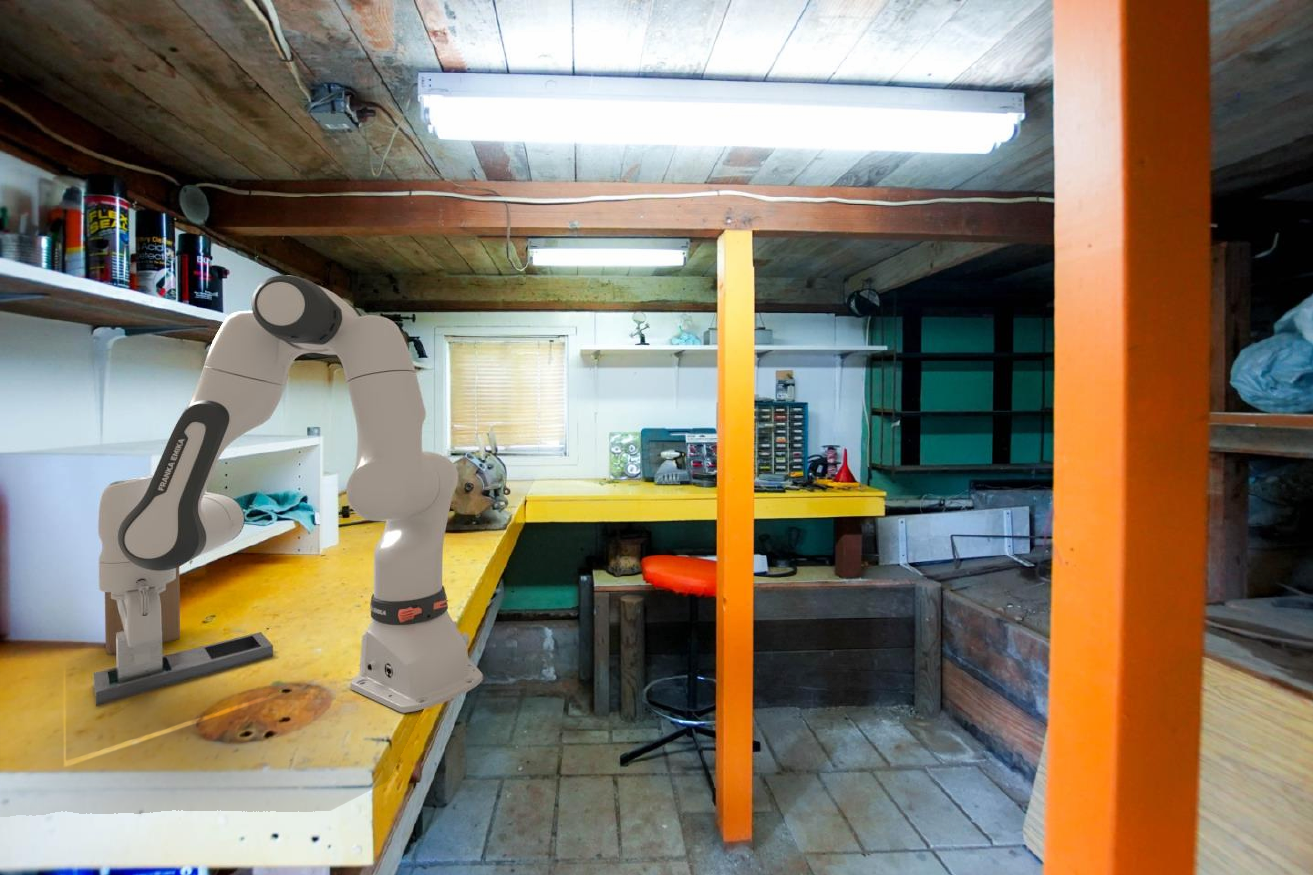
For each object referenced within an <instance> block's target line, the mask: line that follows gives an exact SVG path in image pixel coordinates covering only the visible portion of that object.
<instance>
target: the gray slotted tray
mask: <svg viewBox="0 0 1313 875" xmlns="http://www.w3.org/2000/svg"><path fill="white" fill-rule="evenodd" d="M273 656H274V645H273V644H272V643H271V641H269V639H268V638H267V637H266V636H265V635H264V634H263V633H262V632H261V631H259V632H255V633H250V634H246V635H243V636H238V637H235V638H234V637H233V638H230V639H227V640H223V641H219V642H213V643H210V644H206V645H202V646H199V647H195V648H190V649H187V650H183V651H182V650H181V651H179V652H178V651H177V652H173V653H170V654H166V655H162V672H163V673H159V674H155V675H151V676H148V677H144V678H140V679H136V680H132V681H129V682H125V683H121V684H118V679H117V668H116V667H112V668H109V669H104V670H101V671H97V672H93V689H94V697H95V706H100V705H104V704H108V703H111V702H114V701H118V700H122V699H125V698H129V697H133V696H135V695H139V694H144V693H147V692H150V691H154V690H157V689H160V688H164V687H167V686H168V687H169V686H172V685H175V684H178V683H179V684H180V683H182V682H186V681H189V680H193V679H196V678H197V679H198V678H201V677H204V676H208V675H210V674H215V673H218V672H221V671H222V672H223V671H225V670H230V669H232V668H235V667H239V666H243V665H246V664H247V665H248V664H251V663H253V662H257V661H261V660H265V659H268V658H272V657H273Z"/></svg>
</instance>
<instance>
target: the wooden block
mask: <svg viewBox="0 0 1313 875" xmlns="http://www.w3.org/2000/svg"><path fill="white" fill-rule="evenodd" d="M165 585H166V589H165V590H164V591H163V592H161V593H159V596H160V603H161V629H162V644H164V643H167V642H172V641H176V640H179V638H180V636H181V611H180V610H181V605H180V604H181V602H180V601H181V600H180V599H181V595H180V594H181V593H180V592H181V589H180V587H181V586H180V566H179V567H177V568H176V578H175V579H174V580H173V581H171V582H169V583H166V584H165ZM104 622H105V623H104V625H105V626H104V629H105V632H104V633H105V652H106V654H107V655H115V654H116V633H117V632H122V631H124V628H123V624H122V621H121V617H120V614H119V610H118V606H117V601H116V600H114V599H111V592H104Z"/></svg>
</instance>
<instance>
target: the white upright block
mask: <svg viewBox="0 0 1313 875" xmlns="http://www.w3.org/2000/svg"><path fill="white" fill-rule="evenodd" d="M115 656H116V658H115V660H116V661H115V662H116V667H115V668H117V679H118V684H121V683H125V682H129V681H132V680H136V679H140V678H144V677H148V676H151V675H155V674H159V673H163V672H162V656H163V643H162V633H161V639H160V641H158V642H155V643H151V648H150V660H149V661H148V662H146V663H143V664H138V665H135V664H134V661H133V648H131V647H129V646H128V643H127V639H126V635H125V632H124V631H122V632H117V633H116V655H115Z"/></svg>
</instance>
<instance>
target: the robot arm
mask: <svg viewBox="0 0 1313 875" xmlns="http://www.w3.org/2000/svg"><path fill="white" fill-rule="evenodd" d="M251 297H252V298H251V310H248V311H247V310H244V311H237V312H233V313H231V314H230V315H228V316H227V317H226V318H225V320H224V321H223V323H222V324H221V326H220V328H219V329H218V331H217V333H216V334H215V337H214V339H213V340H212V343H211V346H210V348H209V350H208V352H207V355H206V358H205V360H204V361H205V362H204V363H203V368H202V370H201V374H200V376H199V380H198V382H197V385H196V387H195V389H194V392H193V394H192V397H191V398H190V401H189V402H188V404H187V405H186V407H185V409H184V410H183V412H182V414H181V415H180V417H179V419H178V420H177V422H176V424H175V426H174V428H173V429H172V432H171V435H170V437H169V439H168V440H167V443H166V445H165V447H164V450H163V452H162V454H161V458H160V459H159V462H158V463H157V467H156V469H155V471H154V473H153V475H148V476H147V475H146V476H140V477H133V478H126V479H120V480H117V481H113V482H111V483H110V484H108V485H106V487H105V488H104V490H103V491H102V494H101V497H100V502H99V509H98V519H97V520H98V523H97V524H98V526H97V528H98V536H99V538H100V540H101V546H102V548H101V552H100V554H99V556H98V580H99V581H98V589H99V591H101V592H104V593H105V592H111V599H114V600H116V601H117V606H118V610H119V614H120V617H121V621H122V624H123V628H124V632H125V635H126V639H127V643H128V646H129V647H131V648H133V661H134V664H135V665H138V664H143V663H146V662H148V661H149V660H150V648H151V643H155V642H158V641H160V639H161V633H162V629H161V603H160V596H159V593H161V592H163V591H164V590H165V589H166V585H165V584H166V583H169V582H171V581H173V580H174V579H175V578H176V568H177V567H179V568H180V567H181V566H183V565H186V564H187V563H189V562H191V561H192V560H194V559H196V558H197V557H199V556H202V555H204V554H206V553H208V552H211V551H213V550H216V548H220V547H222V546H224V545H226V544H228V543H229V542H231V541H233V540H234V539H236V538H237V537H238V536H239V535H240V533H241V532H242V530H243V529H244V525H245V517H246V516H245V512H244V509H243V508H242V506H241V505H240V503H239V502H238V501H237V500H236V499H234V498H232V497H230V496H229V495H225V494H221V493H213V492H208V491H206V490H207V488H208V485H209V482H210V480H211V478H212V475H213V473H214V471H215V468H216V465H217V463H218V461H219V458H220V457H221V455H222V454H223V452H224V451H225V449H227V447H228V446H229V445H231V443H233V442H234V441H236V440H237V439H238V438H240V437H241V436H242V435H244V434H247V433H248V432H250V431H252V430H253V429H255V428H258V427H259V426H261V425H264V423H266V422H267V421H269V420H270V419H271V418H272V416H273V414H274V412H275V411H276V408H277V407H278V405H279V404H280V401H281V398H282V396H283V392H284V389H285V385H286V382H287V378H288V374H289V372H290V369H291V366H292V364H293V362H294V361H295V359H297V358H299V356H302V355H304V356H306V357H309V358H338V359H339V360H340V363H341V366H342V368H343V372H344V376H345V381H346V385H347V388H348V393H349V397H350V401H351V406H352V409H353V414H354V418H355V422H356V433H357V435H356V436H357V441H356V443H357V446H356V459H355V466H354V468H353V472H352V473H351V474H350V476H349V478H348V481H347V483H346V488H345V489H346V490H345V492H346V499H347V503H348V504H349V507H350V508H351V509H352V510H353V512H355V513H356V514H357V515H358V516H360V518H363V519H365V520H367V521H373V522H385V526H384V529H383V532H382V535H381V537H380V539H379V541H378V543H377V544H376V546H375V549H374V553H373V593H372V595H371V596H370V602H369V603H370V604H369V609H370V618H371V619H372V620H371V622H370V624H369V626H368V627H367V629H366V630H365V631H364V633H363V634H362V636H361V646H360V659H359V660H360V661H359V674H358V675H356V676H355V677H354V678H353V679H352V680H351V681H350V685H349V688H350V689H351V690H352V691H353V692H356V693H359V694H361V695H363V696H365V697H366V698H369V699H371V700H373V701H375V702H378V703H380V704H382V705H384V706H386V707H388V708H390V709H393V710H395V711H397V712H399V713H402V714H406V713H412V712H417V711H422V710H425V709H428V708H432V707H435V706H437V705H441V704H444V703H445V702H448V701H451V700H454V698H457V697H460V696H462V695H464V694H466V693H468V692H469V691H471V690H472V689H474V688H476V687H477V686H478V685H480V684H481V683H482V682H483V680H484V675H483V673H482V672H481V671H480V669H479V668H478V667H477V665H475V664H474V662H473V661H472V660H471V659H470V657H469V656H468V654H469V651H468V646H469V645H470V637H469V634H468V633H467V632H464V633H461V632H460V631H459V628H458V622H457V621H453V618H452V617H451V615H450V614H449V611H448V609H449V604H448V601H449V600H448V596H447V594H446V590H445V586H444V585H443V562H444V561H443V554H444V553H443V551H444V539H445V534H446V530H447V523H448V520H449V515H450V510H451V508H450V507H451V503H452V499H453V496H454V493H455V491H456V490H457V487H458V483H459V472H458V469H457V467H456V465H455V464H454V462H453V461H451V460H450V459H449V458H448V457H446V456H444V455H442V454H439V453H435V452H433V451H423V440H422V438H423V437H422V435H423V424H424V422H425V420H426V417H427V415H426V414H427V413H426V407H425V405H424V400H423V397H422V396H423V395H422V392H421V389H420V388H421V387H420V384H419V381H418V380H419V379H418V377H417V376H418V375H417V372H416V369H415V365H414V361H413V358H412V356H411V352H410V350H409V347H408V345H407V343H406V340H405V337H404V335H403V334H402V332H401V329H400V328H399V326H398V325H397V324H396V323H395V322H394V321H393V320H391V319H389V318H387V317H384V316H381V315H374V314H370V315H369V314H368V315H366V314H365V315H362V314H361V312H360V311H359V310H358V309H356V307H355V306H353V305H351V304H350V303H348V302H346V301H345V300H344V299H342V298H341V297H340V296H338V295H337V294H336V293H334V292H333V291H330V290H329V289H327V288H325V287H322V286H320V285H318V284H316V283H314V282H312V281H311V280H309V279H306V278H304V277H300V276H294V275H287V274H285V275H282V274H281V275H275V276H271V277H269V278H267V279H265V280H264V281H262V282H261V283H260V284H259V285H258V286H257V287H256V288H255V290H254V292H253V295H252V296H251Z"/></svg>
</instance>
